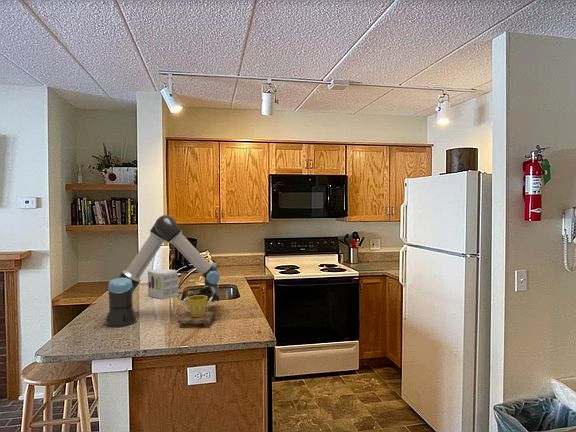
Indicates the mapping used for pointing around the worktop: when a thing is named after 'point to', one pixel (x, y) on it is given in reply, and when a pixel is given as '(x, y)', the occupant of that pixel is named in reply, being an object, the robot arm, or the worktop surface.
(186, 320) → the walnut stand
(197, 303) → the plant pot
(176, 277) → the supplement box
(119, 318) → the robot arm
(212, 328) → the worktop surface
